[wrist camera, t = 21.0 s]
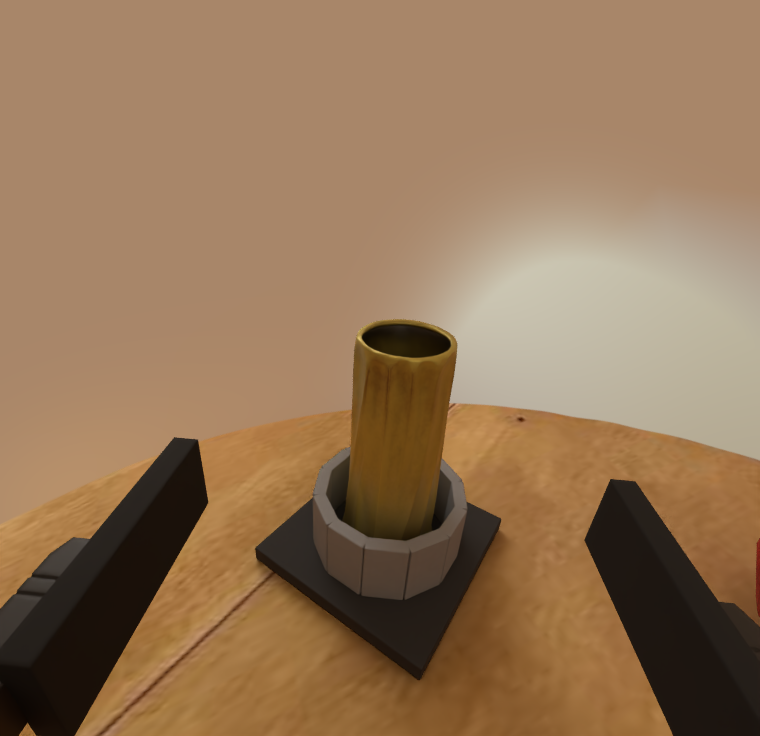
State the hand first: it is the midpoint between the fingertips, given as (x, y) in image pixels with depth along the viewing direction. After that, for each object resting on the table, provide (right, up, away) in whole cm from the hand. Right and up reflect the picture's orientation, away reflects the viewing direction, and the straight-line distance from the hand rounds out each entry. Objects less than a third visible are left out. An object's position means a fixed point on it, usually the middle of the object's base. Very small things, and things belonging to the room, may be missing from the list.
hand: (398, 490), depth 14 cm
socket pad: (0, -8, +15) cm, 17 cm away
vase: (0, -7, +14) cm, 16 cm away
